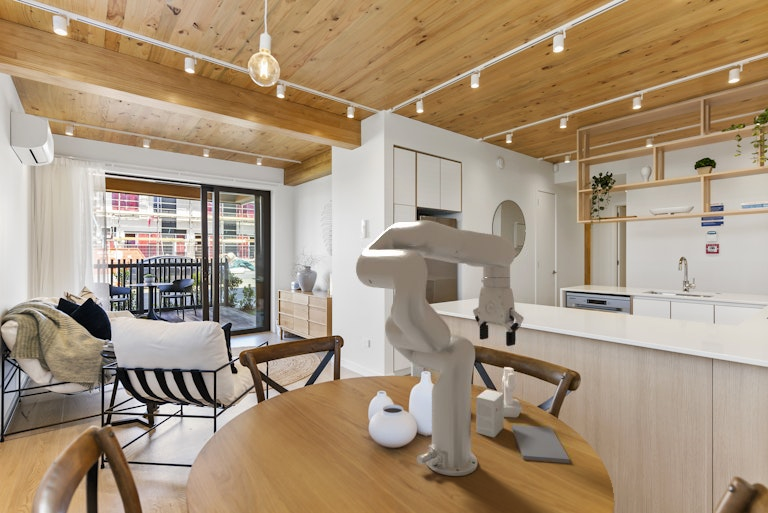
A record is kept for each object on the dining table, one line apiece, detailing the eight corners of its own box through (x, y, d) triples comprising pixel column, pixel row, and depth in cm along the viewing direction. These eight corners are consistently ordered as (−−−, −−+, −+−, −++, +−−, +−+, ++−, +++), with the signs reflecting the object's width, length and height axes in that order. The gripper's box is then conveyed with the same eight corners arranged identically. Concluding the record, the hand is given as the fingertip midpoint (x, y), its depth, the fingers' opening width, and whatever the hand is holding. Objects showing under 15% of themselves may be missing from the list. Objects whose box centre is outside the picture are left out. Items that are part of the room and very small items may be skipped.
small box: (485, 423, 119) (485, 388, 119) (504, 428, 116) (504, 392, 116) (475, 433, 113) (475, 396, 113) (494, 438, 110) (494, 400, 110)
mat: (569, 463, 97) (569, 459, 97) (523, 459, 98) (523, 455, 98) (550, 430, 114) (550, 427, 114) (511, 428, 116) (511, 424, 116)
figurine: (516, 408, 130) (516, 363, 130) (524, 421, 121) (524, 372, 121) (494, 408, 131) (494, 363, 131) (500, 420, 121) (500, 372, 121)
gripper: (465, 282, 118) (465, 338, 119) (513, 286, 104) (513, 350, 104) (482, 280, 123) (482, 335, 123) (530, 284, 108) (530, 346, 109)
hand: (496, 341), depth 114 cm, fingers open, 9 cm apart
